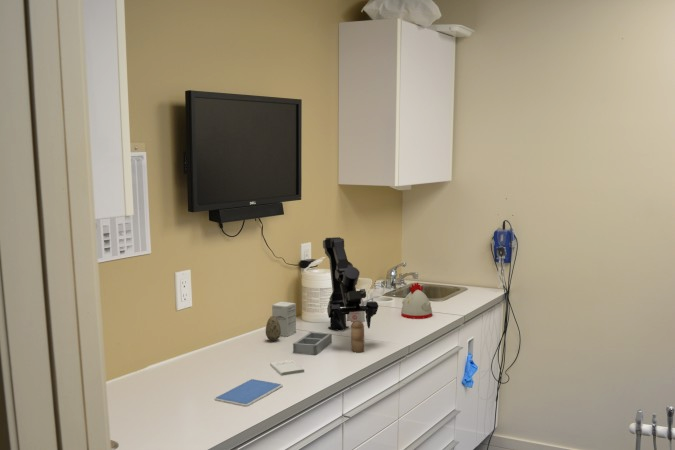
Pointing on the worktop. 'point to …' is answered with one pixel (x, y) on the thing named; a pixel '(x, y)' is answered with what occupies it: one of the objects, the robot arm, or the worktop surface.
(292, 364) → the external hard drive
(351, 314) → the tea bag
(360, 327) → the dome-topped wooden peg
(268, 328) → the decorative egg
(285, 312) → the supplement box
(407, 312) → the grey beanie hat
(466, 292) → the worktop surface
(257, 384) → the tablet computer
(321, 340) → the grey divided tray
